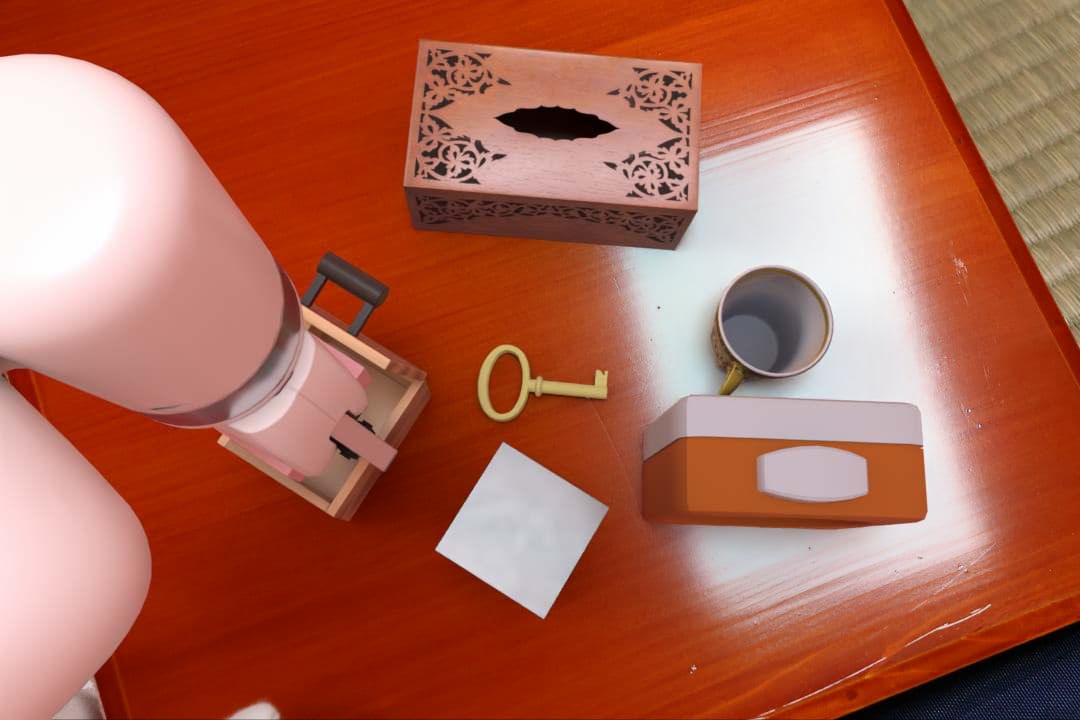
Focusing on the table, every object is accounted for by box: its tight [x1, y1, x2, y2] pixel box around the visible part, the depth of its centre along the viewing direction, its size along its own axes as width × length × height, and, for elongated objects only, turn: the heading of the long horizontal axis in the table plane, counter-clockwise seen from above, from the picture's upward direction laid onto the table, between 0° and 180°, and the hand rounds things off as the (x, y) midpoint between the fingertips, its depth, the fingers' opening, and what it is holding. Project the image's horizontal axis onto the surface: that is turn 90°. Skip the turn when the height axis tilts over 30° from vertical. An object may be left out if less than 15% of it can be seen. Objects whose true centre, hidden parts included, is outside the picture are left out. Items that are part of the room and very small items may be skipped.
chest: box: [216, 320, 433, 522], centre depth 76 cm, size 14×12×8 cm
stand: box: [434, 440, 611, 621], centre depth 66 cm, size 8×8×25 cm
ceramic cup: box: [709, 264, 834, 396], centre depth 78 cm, size 13×10×10 cm
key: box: [477, 344, 609, 423], centre depth 81 cm, size 7×12×2 cm, turn 102°
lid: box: [299, 251, 428, 381], centre depth 66 cm, size 14×12×5 cm
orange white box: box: [642, 394, 929, 531], centre depth 71 cm, size 18×9×21 cm, turn 88°
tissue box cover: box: [402, 38, 703, 251], centre depth 82 cm, size 26×14×10 cm, turn 86°
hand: (300, 406), depth 49 cm, fingers closed on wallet, 4 cm apart
